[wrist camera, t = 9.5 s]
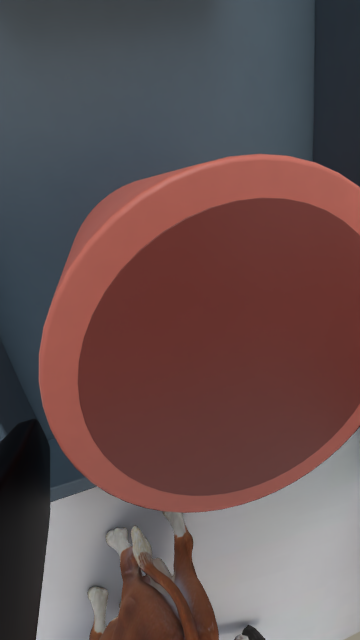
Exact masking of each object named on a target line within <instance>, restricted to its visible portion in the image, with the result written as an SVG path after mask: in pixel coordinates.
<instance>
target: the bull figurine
mask: <svg viewBox="0 0 360 640" xmlns="http://www.w3.org/2000/svg"><path fill="white" fill-rule="evenodd" d="M163 514H164V516H165V517H166V519H167V520H168V521H169V522H170V523H171V526H172V528H173V531H174V575H173V576H172V575H171V574H170V572H169V570H168V568H167V567H166V565H165V564H164V562H163V561H162V559H160V558H155V559H153V558H152V549H151V546H150V544H149V542H148V541H147V539H146V538H145V536H144V535H143V534H142V532H141V530H140V529H139V528H138V527H137V526H134V527H133V528H132V530H131V538H132V543H133V546H131V545H130V544H129V542H128V531H127V529H126V528H123V529H120V528H118V527H116V528H115V530H111V531H109V532H108V533H107V535H106V542H107V543H108V545H109V546H110V547H112V548H113V549H115V550H116V551H117V552H118V554H119V557H120V569H121V575H122V579H123V588H122V599H121V602H120V604H119V608H120V610H119V615H118V616H117V617H115V618H114V619H113V620H112V621H111V622H110V623H109V624H108V626H107V627H106V626H105V616H106V606H107V600H108V591H107V590H106V589H104V588H99V587H92V588H90V589H89V590H88V592H87V594H88V598H89V600H90V602H91V603H92V608H93V611H94V624H93V627H92V630H91V633H90V638H89V640H219V633H218V627H217V622H216V619H215V615H214V611H213V608H212V606H211V603H210V601H209V598H208V596H207V594H206V592H205V590H204V588H203V586H202V584H201V582H200V581H199V579H198V578H197V575H196V572H195V569H194V565H193V562H192V549H193V538H192V536H191V534H190V533H189V532H188V530H187V528H186V526H185V523H184V520H183V513H179V512H165V511H163ZM141 570H143V571H144V572H145V573H146V575H145V576H142V572H141Z"/></svg>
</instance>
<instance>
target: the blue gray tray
mask: <svg viewBox="0 0 360 640" xmlns="http://www.w3.org/2000/svg"><path fill="white" fill-rule="evenodd" d="M251 154H270V155H284V156H291V157H295V158H299V159H304V160H308V161H312V162H315V163H318V164H320V165H322V166H324V167H327V168H329V169H331V170H333V171H336V172H338V173H340V174H341V175H343V176H344V177H346V178H347V179H349V180H350V181H352V182H353V183H354V184H356V185H357V186H359V187H360V0H0V442H1V441H2V440H3V439H4V437H5V436H6V435H7V434H8V433H9V432H10V431H11V430H12V429H13V428H14V427H15V426H16V425H17V424H18V423H20V422H23V421H27V420H30V419H37V420H38V421H39V423H40V425H41V427H42V429H43V431H44V434H45V436H46V438H47V440H48V442H49V446H50V502H53V501H55V500H58V499H61V498H64V497H67V496H70V495H73V494H76V493H79V492H82V491H85V490H88V489H91V488H94V487H97V486H96V485H95V484H93V483H92V482H90V481H89V480H88V479H87V478H86V477H85V476H84V475H83V474H82V473H81V472H80V471H78V470H77V469H76V468H75V466H74V465H73V464H72V463H71V461H70V460H69V459H68V458H67V456H66V455H65V454H64V452H63V451H62V449H61V448H60V446H59V444H58V442H57V440H56V438H55V437H54V435H53V433H52V431H51V429H50V426H49V423H48V421H47V418H46V415H45V412H44V409H43V405H42V399H41V393H40V386H39V351H40V345H41V339H42V333H43V327H44V324H45V321H46V318H47V315H48V312H49V308H50V305H51V302H52V299H53V296H54V294H55V291H56V288H57V286H58V283H59V280H60V277H61V275H62V272H63V269H64V266H65V264H66V261H67V258H68V256H69V253H70V250H71V247H72V245H73V242H74V239H75V237H76V235H77V233H78V231H79V229H80V227H81V225H82V223H83V222H84V220H85V219H86V217H87V216H88V214H89V213H90V212H91V211H92V210H93V209H94V208H95V207H96V205H97V204H98V203H99V202H101V201H102V200H103V199H104V198H105V197H107V196H108V195H109V194H110V193H112V192H114V191H116V190H117V189H119V188H121V187H122V186H125V185H127V184H130V183H132V182H134V181H138V180H141V179H145V178H149V177H152V176H156V175H160V174H164V173H167V172H171V171H175V170H178V169H182V168H186V167H190V166H193V165H197V164H201V163H205V162H209V161H213V160H217V159H221V158H225V157H229V156H240V155H251Z"/></svg>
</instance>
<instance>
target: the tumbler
mask: <svg viewBox="0 0 360 640" xmlns="http://www.w3.org/2000/svg"><path fill="white" fill-rule="evenodd" d="M39 386H40V393H41V399H42V405H43V409H44V412H45V415H46V418H47V421H48V423H49V426H50V429H51V431H52V433H53V435H54V437H55V438H56V440H57V442H58V444H59V446H60V448H61V449H62V451H63V452H64V454H65V455H66V456H67V458H68V459H69V460H70V461H71V463H72V464H73V465H74V466H75V468H76V469H77V470H78V471H80V472H81V473H82V474H83V475H84V476H85V477H86V478H87V479H88V480H89V481H90V482H92V483H93V484H95V485H96V486H98V487H99V488H101V489H102V490H104V491H105V492H107V493H108V494H110V495H113V496H115V497H117V498H119V499H121V500H123V501H125V502H128V503H131V504H134V505H137V506H140V507H144V508H148V509H154V510H159V511H165V512H179V513H190V512H206V511H214V510H221V509H225V508H230V507H234V506H238V505H242V504H245V503H248V502H251V501H254V500H257V499H260V498H262V497H265V496H267V495H269V494H272V493H274V492H276V491H278V490H280V489H282V488H284V487H286V486H288V485H290V484H291V483H293V482H295V481H297V480H298V479H300V478H301V477H303V476H304V475H306V474H308V473H309V472H311V471H312V470H313V469H315V468H316V467H317V466H319V465H320V464H321V463H323V462H324V461H325V460H327V459H328V458H329V457H330V456H331V455H332V454H333V453H334V452H336V451H337V450H338V449H339V448H340V447H341V446H342V445H343V444H344V443H345V442H346V441H347V440H348V439H349V438H350V437H351V436H352V435H353V434H354V433H355V431H356V430H357V429H358V428H359V427H360V187H359V186H357V185H356V184H354V183H353V182H352V181H350V180H349V179H347V178H346V177H344V176H343V175H341V174H340V173H338V172H336V171H333V170H331V169H329V168H327V167H324V166H322V165H320V164H318V163H315V162H312V161H308V160H304V159H299V158H295V157H291V156H284V155H270V154H251V155H240V156H229V157H225V158H221V159H217V160H213V161H209V162H205V163H201V164H197V165H193V166H190V167H186V168H182V169H178V170H175V171H171V172H167V173H164V174H160V175H156V176H152V177H149V178H145V179H141V180H138V181H134V182H132V183H130V184H127V185H125V186H122V187H121V188H119V189H117V190H116V191H114V192H112V193H110V194H109V195H108V196H107V197H105V198H104V199H103V200H102V201H101V202H99V203H98V204H97V205H96V207H95V208H94V209H93V210H92V211H91V212H90V213H89V214H88V216H87V217H86V219H85V220H84V222H83V223H82V225H81V227H80V229H79V231H78V233H77V235H76V237H75V239H74V242H73V245H72V247H71V250H70V253H69V256H68V258H67V261H66V264H65V266H64V269H63V272H62V275H61V277H60V280H59V283H58V286H57V288H56V291H55V294H54V296H53V299H52V302H51V305H50V308H49V312H48V315H47V318H46V321H45V324H44V327H43V333H42V339H41V345H40V351H39Z"/></svg>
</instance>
